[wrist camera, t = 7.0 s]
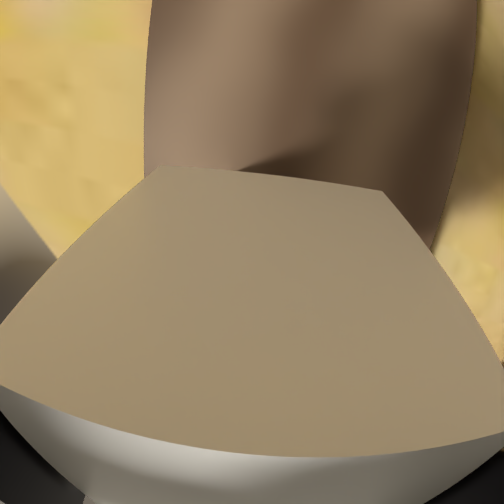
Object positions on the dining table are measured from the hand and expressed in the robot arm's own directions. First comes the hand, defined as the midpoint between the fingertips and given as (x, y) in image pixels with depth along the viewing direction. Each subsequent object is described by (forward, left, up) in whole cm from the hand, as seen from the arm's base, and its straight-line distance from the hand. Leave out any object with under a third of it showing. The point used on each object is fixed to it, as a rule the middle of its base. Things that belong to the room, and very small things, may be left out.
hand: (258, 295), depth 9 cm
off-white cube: (0, 0, -1) cm, 1 cm away
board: (-1, -5, -8) cm, 10 cm away
